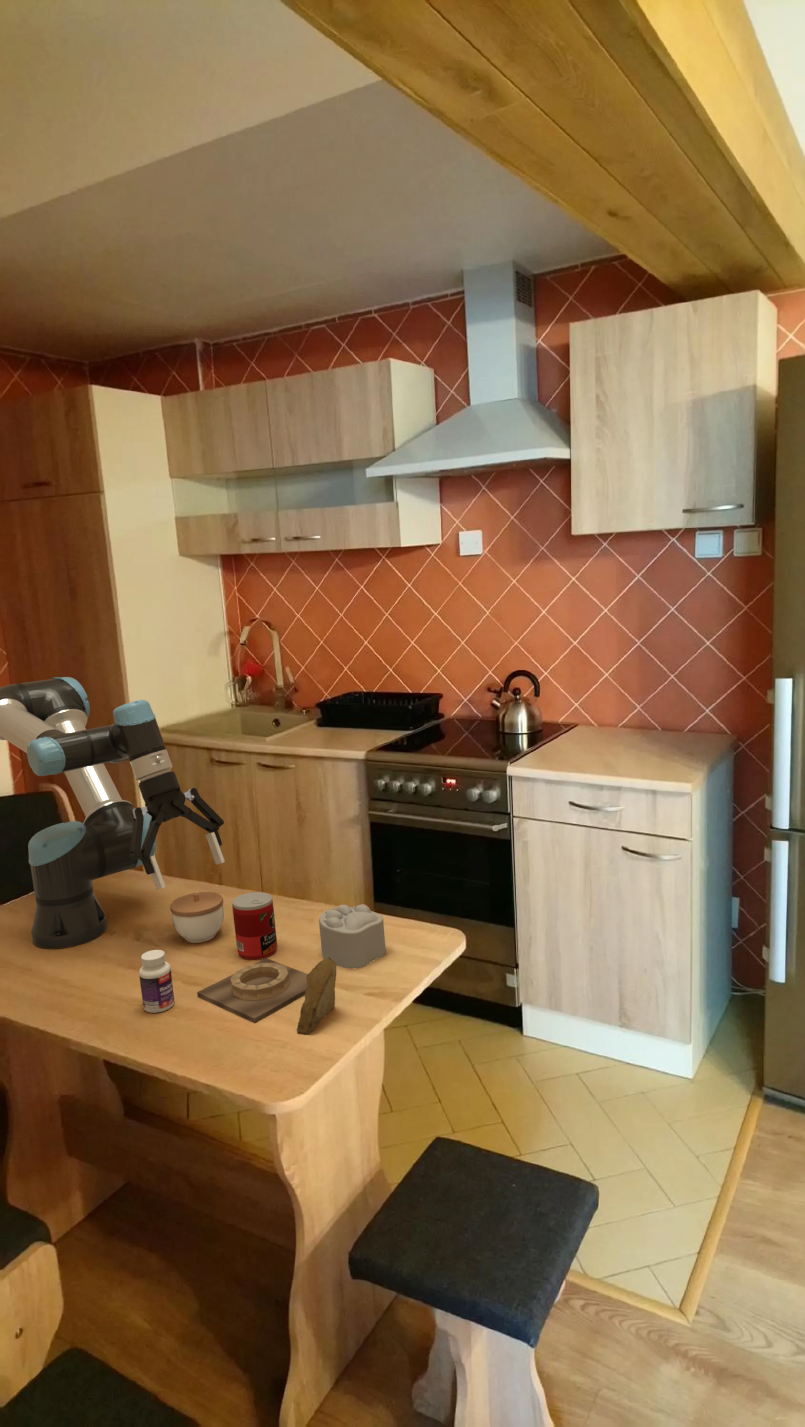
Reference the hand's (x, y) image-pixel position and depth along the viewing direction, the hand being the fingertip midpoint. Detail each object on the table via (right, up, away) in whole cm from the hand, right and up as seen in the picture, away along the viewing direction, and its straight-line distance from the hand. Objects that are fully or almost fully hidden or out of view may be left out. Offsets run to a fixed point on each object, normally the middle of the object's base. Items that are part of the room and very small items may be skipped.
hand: (191, 875), depth 178 cm
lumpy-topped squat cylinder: (+32, -14, -5) cm, 36 cm away
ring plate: (+17, -17, -18) cm, 30 cm away
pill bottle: (-1, -19, -21) cm, 29 cm away
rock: (+27, -19, -29) cm, 44 cm away
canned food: (+14, -15, -2) cm, 20 cm away
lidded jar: (0, -14, +7) cm, 16 cm away
